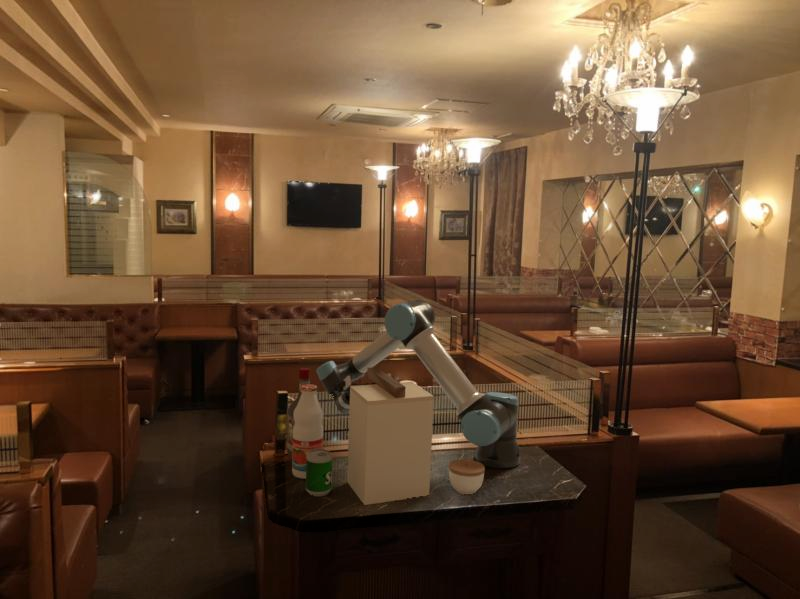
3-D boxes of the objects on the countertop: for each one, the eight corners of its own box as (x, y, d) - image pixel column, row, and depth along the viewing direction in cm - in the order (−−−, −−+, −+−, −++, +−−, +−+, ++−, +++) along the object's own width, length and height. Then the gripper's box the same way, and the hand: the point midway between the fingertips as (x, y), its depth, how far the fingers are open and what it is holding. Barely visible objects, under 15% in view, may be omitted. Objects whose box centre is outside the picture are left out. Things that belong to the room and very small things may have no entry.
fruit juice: (325, 468, 197) (327, 383, 194) (317, 480, 188) (319, 391, 184) (297, 466, 199) (299, 381, 195) (287, 477, 189) (289, 388, 186)
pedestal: (407, 474, 195) (411, 381, 192) (429, 495, 181) (433, 396, 177) (347, 482, 188) (350, 386, 184) (364, 505, 173) (367, 401, 169)
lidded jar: (482, 484, 190) (484, 455, 189) (484, 499, 180) (485, 468, 178) (447, 481, 191) (449, 452, 190) (447, 496, 181) (448, 466, 179)
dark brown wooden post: (376, 376, 197) (376, 367, 196) (405, 397, 175) (405, 386, 174) (367, 376, 196) (367, 367, 195) (395, 397, 174) (395, 387, 173)
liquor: (309, 449, 213) (311, 364, 209) (321, 458, 206) (323, 370, 202) (284, 454, 208) (286, 367, 204) (295, 463, 201) (297, 373, 197)
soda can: (320, 500, 175) (321, 459, 174) (300, 493, 179) (301, 453, 178) (336, 490, 182) (337, 451, 180) (316, 484, 186) (317, 445, 184)
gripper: (386, 403, 218) (408, 387, 199) (317, 409, 208) (333, 392, 190) (383, 382, 220) (404, 365, 202) (315, 387, 211) (330, 369, 193)
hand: (370, 378), depth 196 cm, fingers open, 13 cm apart
